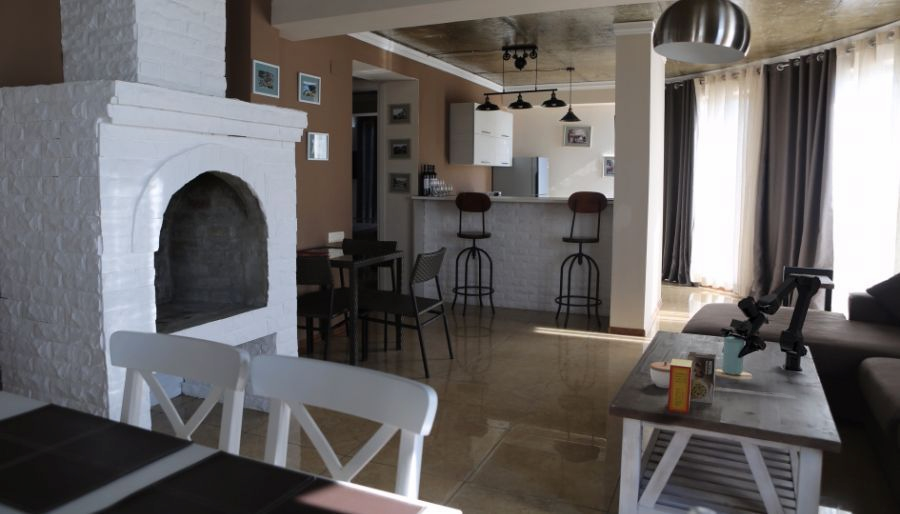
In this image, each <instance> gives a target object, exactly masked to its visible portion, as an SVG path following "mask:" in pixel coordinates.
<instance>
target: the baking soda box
mask: <svg viewBox="0 0 900 514" xmlns="http://www.w3.org/2000/svg"><path fill="white" fill-rule="evenodd" d="M670 363H671V364H670V378H669V388H668V402H667V412H672V411H673V412H674V413H679V412H681V413H680V414H689V412H690V408H691V407H690V406H691V401H690V394H691V377H692V360H688V359H681V358H673V357H672V359H671V362H670Z"/></svg>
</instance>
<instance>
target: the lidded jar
mask: <svg viewBox="0 0 900 514" xmlns="http://www.w3.org/2000/svg"><path fill="white" fill-rule="evenodd" d="M670 364H671V362H668V361H667V360H664V361H656V362H651V363H650V378H651V380H652V382H653V383H654V384H655V387H658V388H662V389H669V378H670Z"/></svg>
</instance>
